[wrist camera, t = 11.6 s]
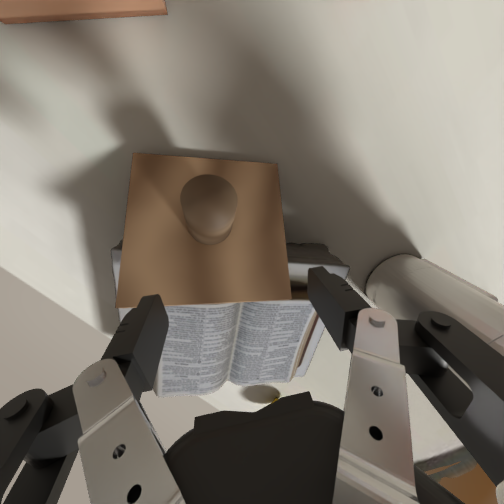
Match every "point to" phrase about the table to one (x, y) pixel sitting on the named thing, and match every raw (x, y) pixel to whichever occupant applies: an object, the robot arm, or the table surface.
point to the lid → (203, 232)
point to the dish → (76, 9)
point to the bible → (242, 333)
